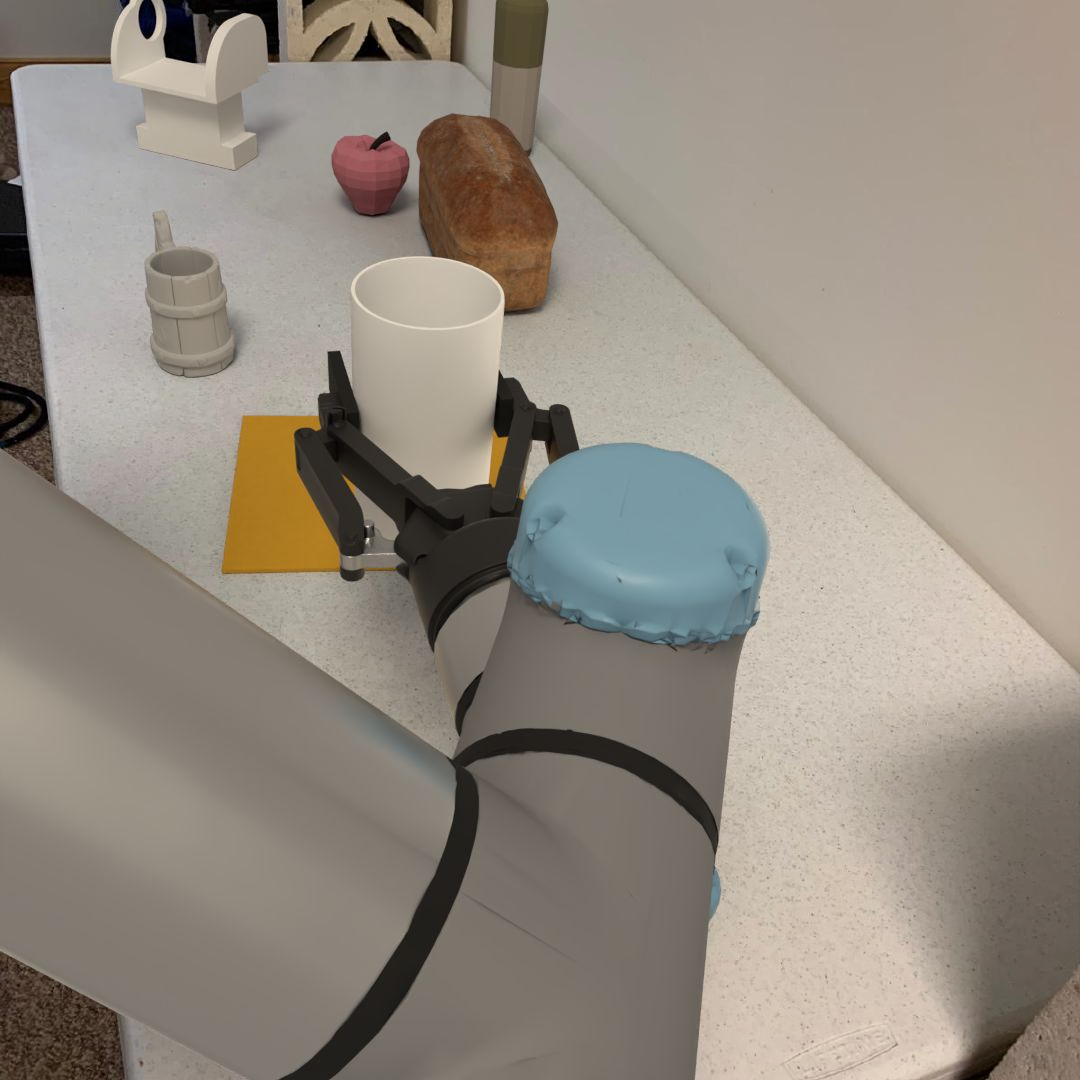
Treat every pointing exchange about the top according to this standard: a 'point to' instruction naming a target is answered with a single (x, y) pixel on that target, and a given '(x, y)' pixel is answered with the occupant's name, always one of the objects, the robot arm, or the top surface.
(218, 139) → the white holder stand
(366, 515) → the cup
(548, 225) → the bread
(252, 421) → the cloth
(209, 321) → the mug
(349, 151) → the apple
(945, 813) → the top surface
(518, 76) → the bottle
